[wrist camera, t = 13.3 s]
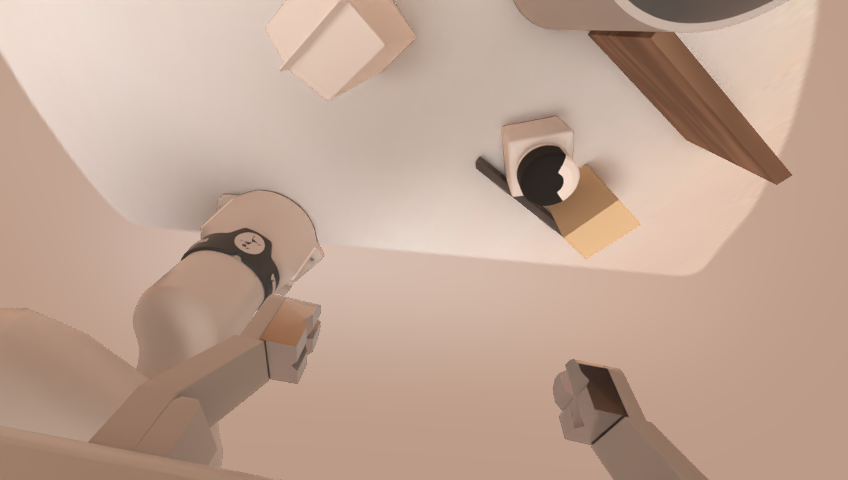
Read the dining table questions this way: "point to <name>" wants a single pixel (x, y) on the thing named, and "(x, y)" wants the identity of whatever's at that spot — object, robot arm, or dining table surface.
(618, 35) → the brown flat boards
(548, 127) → the medicine bottle
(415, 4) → the dining table surface
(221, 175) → the dining table surface
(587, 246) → the carton
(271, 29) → the milk
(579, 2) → the cylinder vase
